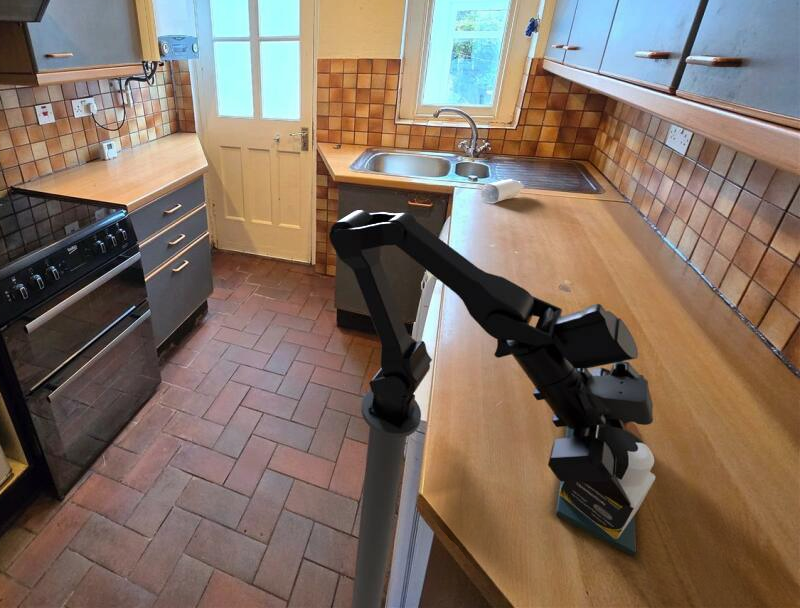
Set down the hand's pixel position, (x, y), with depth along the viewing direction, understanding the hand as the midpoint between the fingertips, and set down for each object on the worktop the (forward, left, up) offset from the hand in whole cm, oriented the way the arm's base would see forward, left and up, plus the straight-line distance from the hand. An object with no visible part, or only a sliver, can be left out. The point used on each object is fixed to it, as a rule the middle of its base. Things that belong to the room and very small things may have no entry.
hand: (627, 476), depth 53 cm
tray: (-2, +8, -8) cm, 11 cm away
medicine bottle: (-2, 0, -7) cm, 7 cm away
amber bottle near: (-1, +9, -7) cm, 11 cm away
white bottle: (-37, +124, -8) cm, 129 cm away
